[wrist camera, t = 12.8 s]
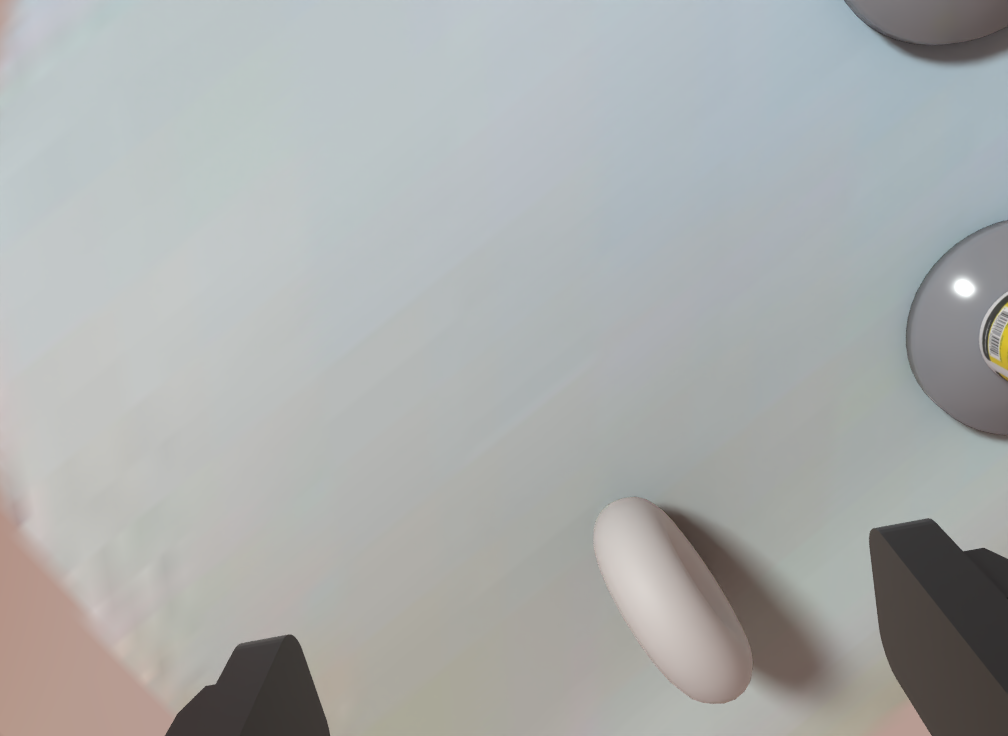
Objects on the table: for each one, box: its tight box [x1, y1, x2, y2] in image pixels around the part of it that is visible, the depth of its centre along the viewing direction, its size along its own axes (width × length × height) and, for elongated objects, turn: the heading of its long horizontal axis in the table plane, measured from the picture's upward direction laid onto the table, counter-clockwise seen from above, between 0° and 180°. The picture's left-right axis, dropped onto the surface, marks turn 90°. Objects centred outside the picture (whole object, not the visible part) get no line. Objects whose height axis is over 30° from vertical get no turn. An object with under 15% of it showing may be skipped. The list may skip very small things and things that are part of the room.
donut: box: [593, 497, 753, 704], centre depth 40 cm, size 10×4×10 cm, turn 37°
